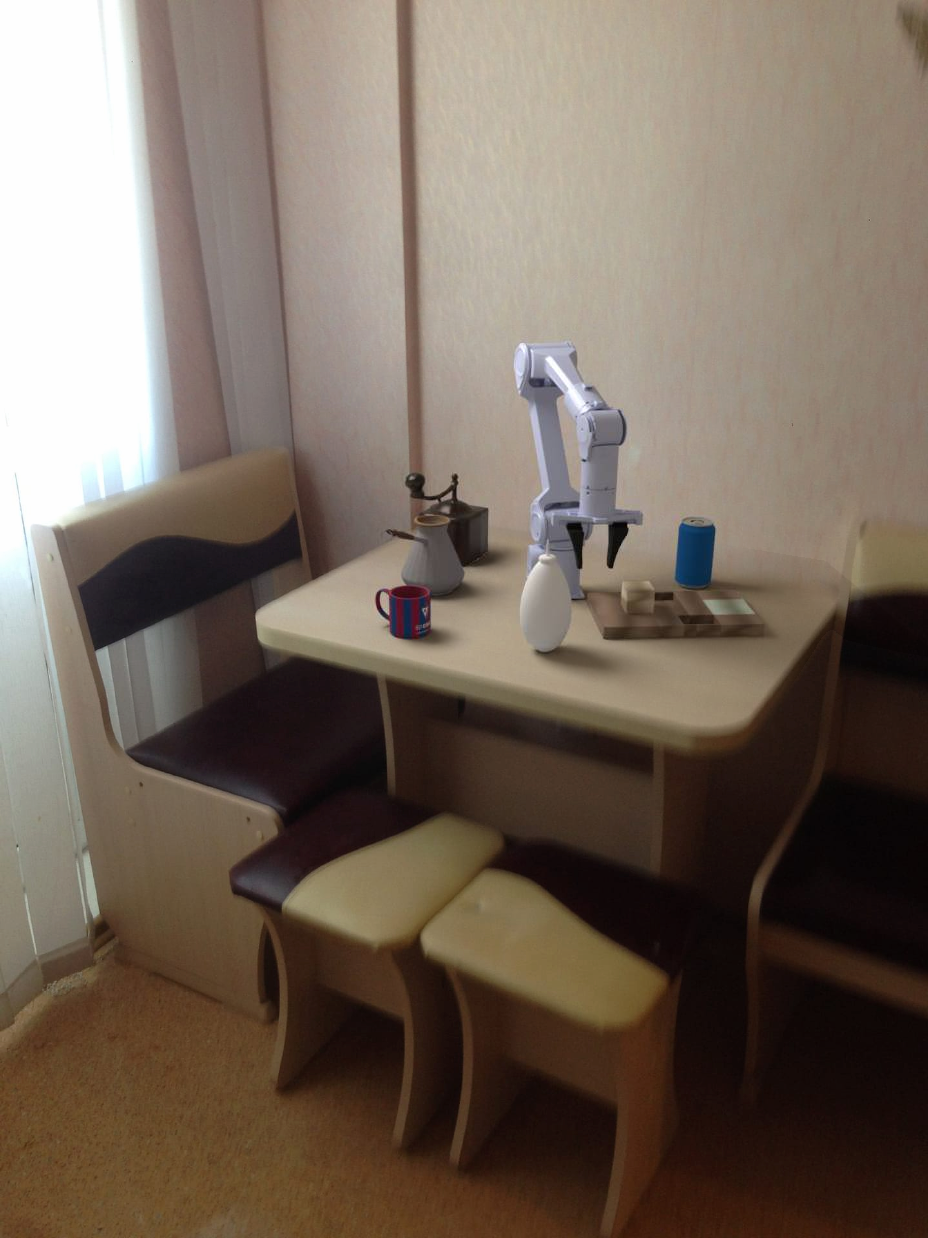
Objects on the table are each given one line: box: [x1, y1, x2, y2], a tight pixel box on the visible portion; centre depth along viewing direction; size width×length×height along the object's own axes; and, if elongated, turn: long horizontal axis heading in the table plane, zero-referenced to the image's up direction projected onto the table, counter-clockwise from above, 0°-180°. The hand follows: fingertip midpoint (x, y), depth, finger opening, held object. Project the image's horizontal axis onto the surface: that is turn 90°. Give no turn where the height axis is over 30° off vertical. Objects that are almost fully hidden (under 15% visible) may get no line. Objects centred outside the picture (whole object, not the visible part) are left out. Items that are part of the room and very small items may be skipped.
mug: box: [374, 584, 432, 640], centre depth 175 cm, size 7×10×7 cm
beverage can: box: [674, 516, 717, 590], centre depth 194 cm, size 6×6×12 cm
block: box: [621, 580, 656, 614], centre depth 178 cm, size 4×4×4 cm
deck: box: [586, 589, 765, 640], centre depth 180 cm, size 26×16×2 cm, turn 93°
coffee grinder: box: [404, 472, 489, 567], centre depth 206 cm, size 16×11×18 cm
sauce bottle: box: [519, 540, 573, 653], centre depth 165 cm, size 8×8×18 cm
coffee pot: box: [380, 515, 466, 597], centre depth 187 cm, size 21×12×15 cm, turn 152°
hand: (594, 567), depth 176 cm, fingers open, 4 cm apart
